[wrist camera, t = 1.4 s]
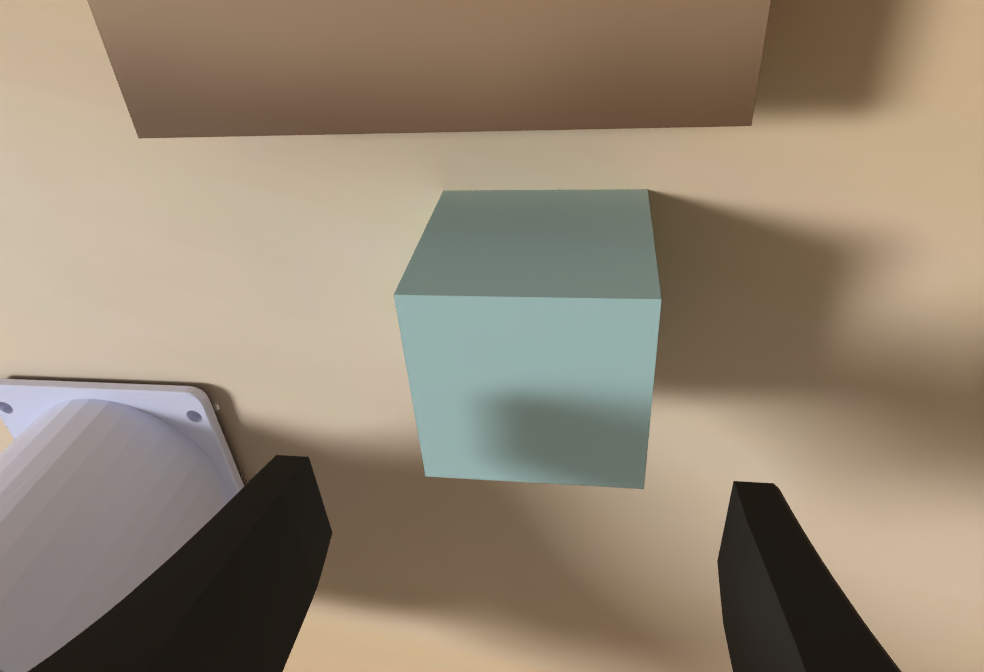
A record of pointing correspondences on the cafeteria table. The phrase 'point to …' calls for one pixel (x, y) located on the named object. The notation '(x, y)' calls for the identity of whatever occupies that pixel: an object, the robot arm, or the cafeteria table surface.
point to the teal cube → (533, 336)
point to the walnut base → (431, 64)
